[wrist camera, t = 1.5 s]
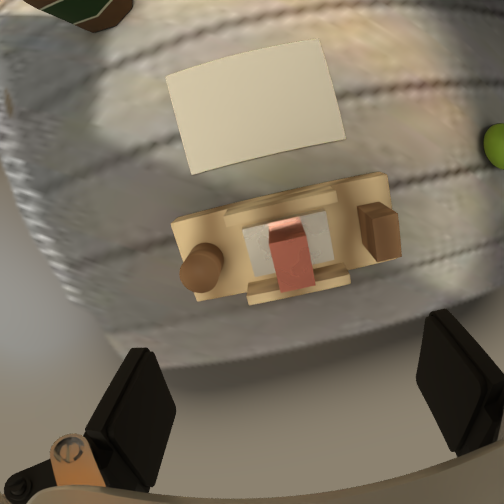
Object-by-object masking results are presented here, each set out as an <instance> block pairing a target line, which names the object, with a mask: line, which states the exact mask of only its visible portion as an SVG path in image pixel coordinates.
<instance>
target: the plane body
mask: <svg viewBox="0 0 504 504" xmlns="http://www.w3.org/2000/svg"><path fill="white" fill-rule="evenodd" d="M321 208H324V209H325V211H326V215H327V220H328V226H329V231H330V237H331V243H332V248H333V254H334V260H332V261H327V262H323V263H318V264H314V265H312V267H313V272H314V278H315V283H316V285H315V286H311V287H306V288H302V289H297V290H292V291H288V292H283V293H281V292H280V288H279V284H278V280H277V276H276V273H272V274H268V275H263V276H258V277H255V276H254V272H253V269H252V265H251V261H250V258H249V254H248V250H247V247H246V243H245V239H244V236H243V232H242V227H243V226H246V225H250V224H254V223H259V222H263V221H267V220H272V219H276V218H281V217H285V216H290V215H294V214H299V213H303V212H308V211H312V210H317V209H321ZM171 226H172V229H173V232H174V236H175V239H176V242H177V245H178V248H179V251H180V254H181V257H182V259H183V264H182V266H181V268H180V279H181V281H182V283H183V284H184V286H185V287H186V288H187V289H189V290H191V291H193V292H194V294H195V296H196V299H197V301H203V300H208V299H213V298H219V297H224V296H229V295H234V294H239V293H244V292H247V296H246V297H247V300H248V303H249V305H253V304H259V303H264V302H269V301H274V300H278V299H283V298H288V297H293V296H298V295H302V294H307V293H312V292H316V291H321V290H325V289H330V288H334V287H338V286H343V285H347V284H351V281H350V274H349V272H348V270H351V269H355V268H359V267H364V266H368V265H372V264H376V263H380V262H384V261H389V260H393V259H397V258H398V257H402V254H401V242H400V231H399V221H398V213H396V212H395V211H393V210H392V205H391V198H390V190H389V184H388V177H387V174H384V173H381V172H374V173H369V174H364V175H359V176H354V177H348V178H343V179H338V180H334V181H329V182H324V183H319V184H314V185H310V186H305V187H301V188H296V189H291V190H287V191H283V192H278V193H274V194H269V195H265V196H261V197H257V198H252V199H248V200H244V201H240V202H236V203H232V204H228V205H224V206H220V207H216V208H212V209H208V210H204V211H200V212H196V213H193V214H189V215H185V216H181V217H178V218H176V219H175V220H174V221H173V222H172V223H171Z"/></svg>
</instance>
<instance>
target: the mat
mask: <svg viewBox="0 0 504 504" xmlns="http://www.w3.org/2000/svg"><path fill="white" fill-rule="evenodd" d="M165 78H166V82H167V85H168V89H169V93H170V97H171V101H172V105H173V109H174V112H175V116H176V120H177V124H178V127H179V131H180V135H181V138H182V142H183V146H184V149H185V153H186V157H187V160H188V164H189V167H190V171H191V174H192V175H194V174H197V173H201V172H204V171H208V170H211V169H215V168H219V167H222V166H226V165H230V164H234V163H238V162H242V161H246V160H250V159H254V158H258V157H262V156H266V155H271V154H275V153H279V152H284V151H288V150H293V149H298V148H302V147H307V146H312V145H317V144H322V143H327V142H333V141H338V140H344V139H346V137H345V132H344V128H343V124H342V119H341V115H340V111H339V107H338V103H337V99H336V95H335V92H334V88H333V84H332V81H331V77H330V74H329V70H328V67H327V63H326V60H325V56H324V53H323V50H322V47H321V44H320V40H319V38H317V39H310V40H304V41H298V42H292V43H286V44H281V45H276V46H271V47H266V48H261V49H257V50H252V51H248V52H244V53H240V54H236V55H232V56H228V57H225V58H221V59H217V60H214V61H211V62H207V63H204V64H201V65H197V66H194V67H191V68H188V69H185V70H182V71H179V72H176V73H173V74H171V75H168V76H165Z"/></svg>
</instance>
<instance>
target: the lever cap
mask: <svg viewBox="0 0 504 504" xmlns="http://www.w3.org/2000/svg"><path fill="white" fill-rule="evenodd" d="M242 232H243V236H244V239H245V243H246V247H247V250H248V254H249V258H250V261H251V265H252V269H253V272H254V276H255V277H258V276H263V275H268V274H272V273H276V276H277V280H278V284H279V288H280V292H281V293H283V292H288V291H292V290H297V289H302V288H306V287H311V286H315V285H316V283H315V278H314V272H313V267H312V265H314V264H318V263H323V262H327V261H332V260H334V254H333V248H332V243H331V237H330V231H329V226H328V220H327V215H326V211H325V209H324V208H321V209H317V210H312V211H308V212H303V213H299V214H294V215H290V216H285V217H281V218H276V219H272V220H267V221H263V222H259V223H254V224H250V225H246V226H243V227H242Z"/></svg>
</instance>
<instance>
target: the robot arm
mask: <svg viewBox="0 0 504 504" xmlns="http://www.w3.org/2000/svg"><path fill="white" fill-rule="evenodd" d="M416 381H417V385H418V387H419V389H420V391H421V392H422V395H423V396H424V398H425V400H426V402H427V404H428V406H429V408H430V410H431V412H432V414H433V416H434V418H435V420H436V422H437V424H438V426H439V428H440V430H441V432H442V434H443V436H444V438H445V441H446V442H447V445H448V447H449V449H450V451H451V452H454V451H455V453H456V455H457V458H454V459H452V460H449V461H446V462H443V463H440V464H437V465H435V466H432V467H429V468H426V469H423V470H419V471H417V472H413V473H410V474H406V475H403V476H399V477H395V478H392V479H388V480H384V481H380V482H375V483H371V484H367V485H362V486H357V487H352V488H346V489H341V490H335V491H328V492H322V493H315V494H306V495H297V496H286V497H272V498H250V499H249V498H247V499H219V498H215V499H214V498H195V497H181V496H170V495H161V494H152V493H149V490H150V487H153V486H154V485H155V483H156V479H157V476H158V472H159V469H160V466H161V462H162V459H163V455H164V452H165V449H166V445H167V442H168V438H169V435H170V432H171V428H172V425H173V422H174V419H175V415H176V406H175V403H174V401H173V399H172V396H171V394H170V391H169V389H168V387H167V384H166V382H165V380H164V377H163V374H162V372H161V369H160V367H159V364H158V361H157V359H156V356H155V354H154V352H150V350H149V349H148V348H131V349H130V351H129V352H128V354H127V356H126V358H125V359H124V361H123V363H122V364H121V366H120V368H119V370H118V371H117V373H116V375H115V376H114V378H113V380H112V381H111V383H110V386H109V387H108V388H107V390H106V392H105V394H104V396H103V397H102V399H101V401H100V403H99V404H98V406H97V408H96V410H95V412H94V413H93V415H92V417H91V419H90V421H89V423H88V424H87V426H86V428H85V431H86V432H85V433H84V435H83V436H82V435H80V434H76V433H75V434H67V435H64V436H62V437H60V438H59V439H57V440H56V441H55V442H54V443H53V445H52V446H51V449H50V459H49V460H46V461H44V462H42V463H40V464H37V465H35V466H32V467H30V468H28V469H25V470H23V471H20V472H18V473H16V474H14V475H12V476H11V477H10V478H9V479H8V480H7V482H6V483H5V487H4V494H2V493H1V492H0V504H504V374H503V373H502V371H501V370H500V369H499V368H498V366H497V365H496V364H495V363H494V361H493V360H492V359H491V358H490V357H489V356H488V354H487V353H486V352H485V351H484V350H483V349H482V347H481V346H480V345H479V344H478V343H477V342H476V340H475V339H474V338H473V337H472V336H471V335H470V334H469V333H468V332H467V330H466V329H465V328H464V327H463V326H462V325H461V324H460V323H459V322H458V321H457V319H456V318H455V317H454V316H453V315H452V314H451V313H450V312H449V311H448V310H447V309H441V310H437V311H432V312H431V313H430V314H429V317H426V319H425V325H424V332H423V339H422V345H421V352H420V357H419V363H418V368H417V374H416Z"/></svg>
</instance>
